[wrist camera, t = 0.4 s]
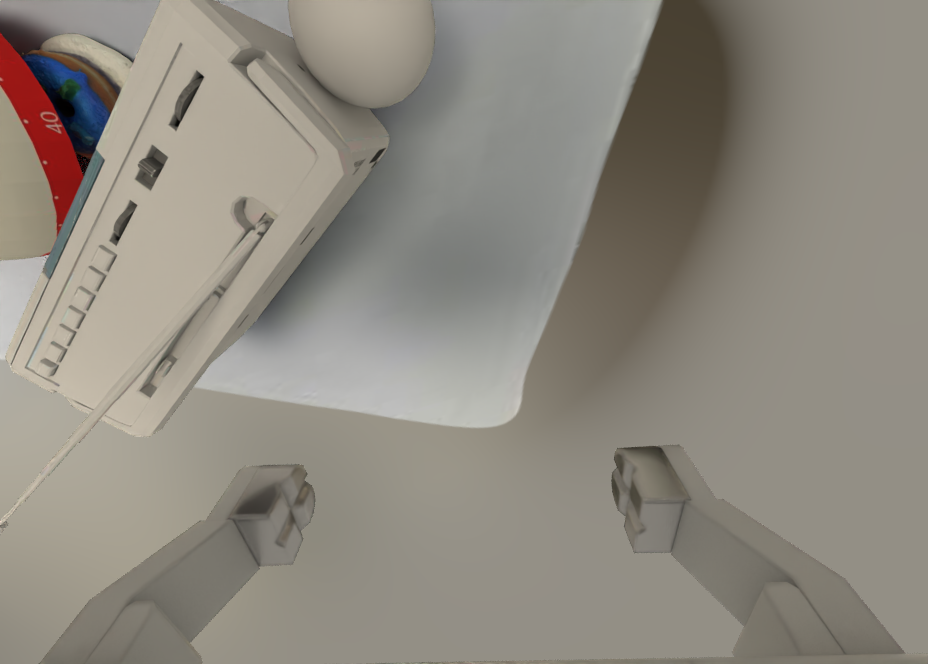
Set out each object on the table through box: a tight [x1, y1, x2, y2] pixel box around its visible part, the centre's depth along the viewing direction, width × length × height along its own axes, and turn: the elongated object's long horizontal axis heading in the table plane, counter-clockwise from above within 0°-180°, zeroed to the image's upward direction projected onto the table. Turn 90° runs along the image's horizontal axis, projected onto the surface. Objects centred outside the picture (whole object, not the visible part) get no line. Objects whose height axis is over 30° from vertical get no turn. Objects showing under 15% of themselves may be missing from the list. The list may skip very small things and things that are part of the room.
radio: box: [0, 0, 390, 534], centre depth 20 cm, size 21×8×20 cm, turn 137°
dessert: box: [20, 34, 133, 159], centre depth 25 cm, size 8×7×6 cm
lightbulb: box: [288, 0, 435, 108], centre depth 19 cm, size 6×6×11 cm
